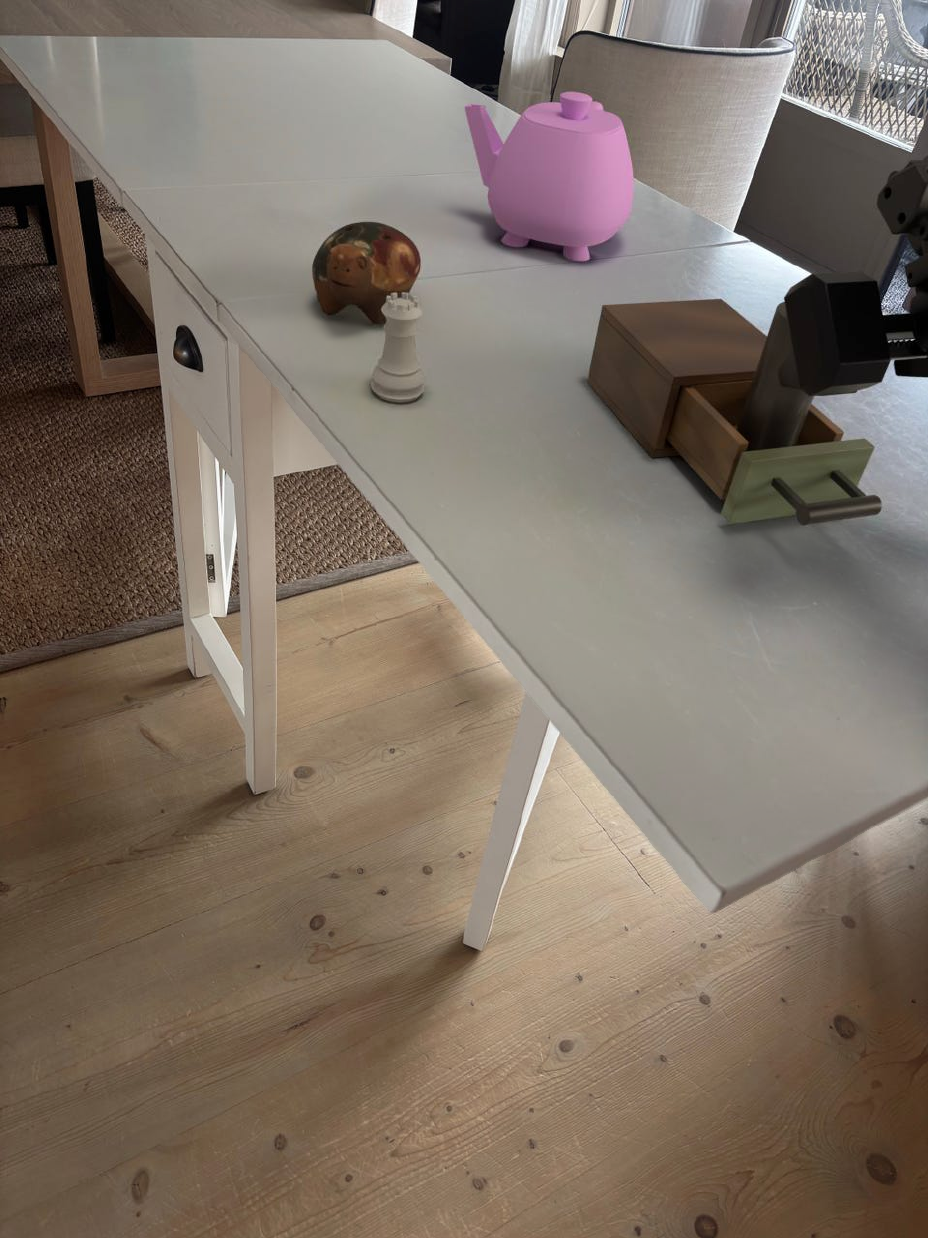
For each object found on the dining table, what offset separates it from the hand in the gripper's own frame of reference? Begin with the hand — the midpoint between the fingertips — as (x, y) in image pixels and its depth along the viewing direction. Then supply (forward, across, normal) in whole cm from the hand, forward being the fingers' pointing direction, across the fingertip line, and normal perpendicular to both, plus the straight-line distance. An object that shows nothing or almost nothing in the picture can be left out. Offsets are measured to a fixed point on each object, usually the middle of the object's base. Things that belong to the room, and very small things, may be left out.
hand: (840, 373), depth 62 cm
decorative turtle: (+36, +22, -19) cm, 47 cm away
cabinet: (+20, 0, -3) cm, 20 cm away
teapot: (+49, -4, -32) cm, 59 cm away
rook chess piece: (+25, +23, -8) cm, 35 cm away
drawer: (+10, 0, +6) cm, 11 cm away
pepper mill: (+10, 0, +4) cm, 11 cm away
